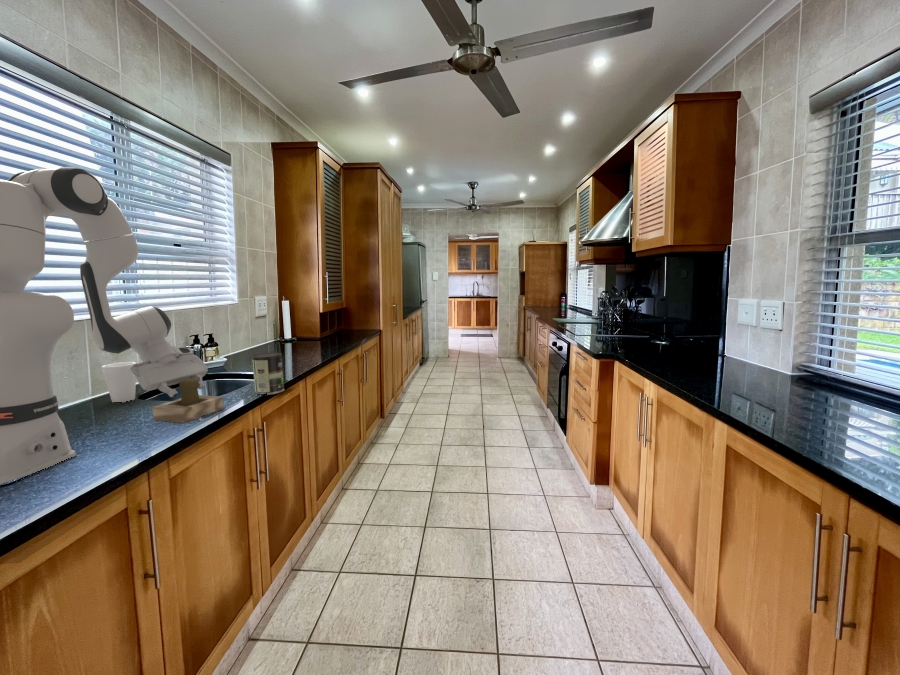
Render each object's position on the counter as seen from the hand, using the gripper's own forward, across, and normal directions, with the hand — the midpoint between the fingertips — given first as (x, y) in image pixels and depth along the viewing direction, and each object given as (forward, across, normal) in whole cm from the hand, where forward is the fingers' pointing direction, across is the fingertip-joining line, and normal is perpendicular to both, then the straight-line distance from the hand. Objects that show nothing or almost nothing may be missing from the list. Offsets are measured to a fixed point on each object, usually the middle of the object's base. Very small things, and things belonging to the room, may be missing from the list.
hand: (188, 391), depth 126 cm
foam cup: (-22, +6, +33) cm, 40 cm away
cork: (+5, 0, +5) cm, 7 cm away
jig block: (+5, 0, +6) cm, 7 cm away
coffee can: (+9, +29, +2) cm, 30 cm away
